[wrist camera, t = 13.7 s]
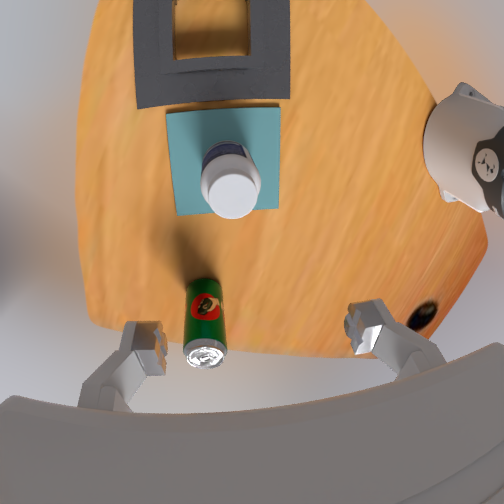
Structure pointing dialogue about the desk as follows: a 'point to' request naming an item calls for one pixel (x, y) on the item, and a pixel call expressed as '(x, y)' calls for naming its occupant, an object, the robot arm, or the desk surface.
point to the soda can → (204, 325)
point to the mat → (215, 130)
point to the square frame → (210, 58)
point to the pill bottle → (229, 179)
